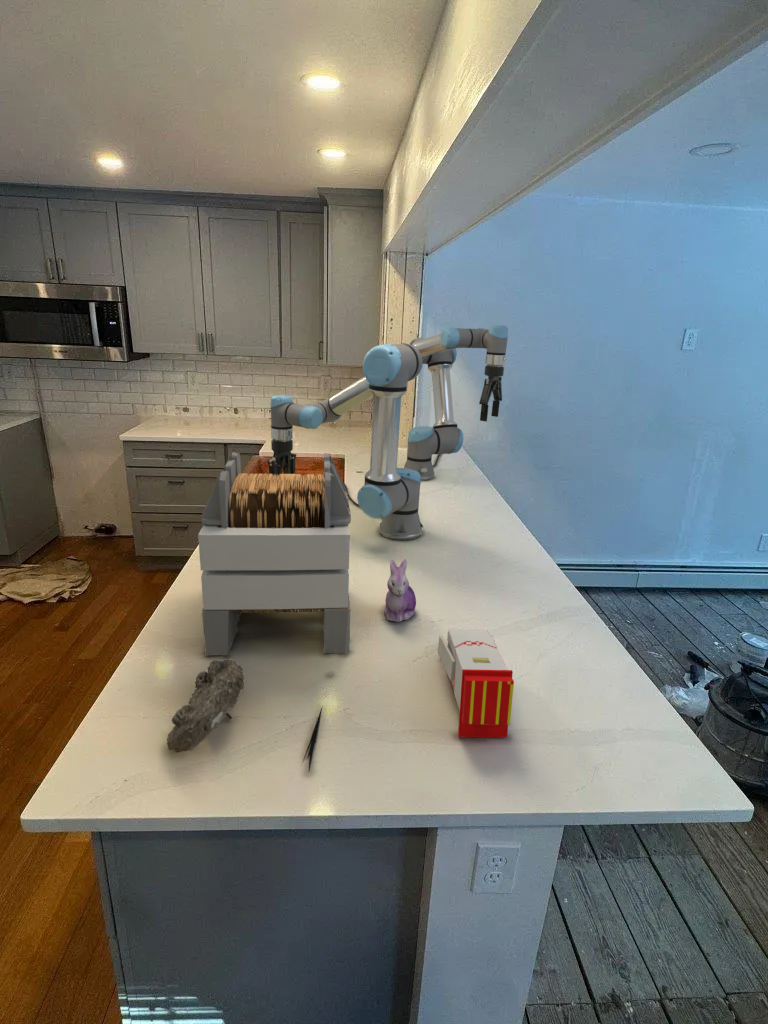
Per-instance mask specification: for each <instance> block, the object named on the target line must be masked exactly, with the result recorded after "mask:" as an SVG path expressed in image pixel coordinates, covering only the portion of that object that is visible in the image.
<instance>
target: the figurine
mask: <svg viewBox="0 0 768 1024" xmlns="http://www.w3.org/2000/svg"><path fill="white" fill-rule="evenodd" d="M407 567H408V559H406V558H404V559H403V560H402V561H401V563H400V565H399V566H398V565H397V563H396V562H395V561H394V560H393V559H391V560H390V561H389V570H390V576H389V578H388V579H387V589H388V591H387V592H386V594H385V595H386V596H385V607H384V615H385V616H386V620H387V621H391V622H395V623H400V622H402V621H406V620H409V619H410V618H411V617H413V616H414V615H415V610H416V606H417V597H416V593H415V591H414V590H413V587H411V586H410V582H409V579H408V577H407V574H406V571H407Z"/></svg>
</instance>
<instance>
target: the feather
mask: <svg viewBox="0 0 768 1024" xmlns="http://www.w3.org/2000/svg"><path fill="white" fill-rule="evenodd" d="M329 675H330V676H331V675H332V674H331V673H330V674H329ZM322 710H323V707H321V708H320V710H319V713H318V716H317V719H316V723H315V725H314V728H313V731H312V733H311V737H310V739H309V742H308V745H307V748H306V751H305V754H304V757H303V760H302V763H301V767H302V765H303V763H304V761H305V758H308V759H309V760H308V762H307V763H308V764H307V766H308V771H310V770H311V766H312V765H311V764H312V760H313V757H315V756H314V755H315V751H316V749H315V746H317V739H318V733H319V729H320V722H321V717H322V712H323V711H322ZM313 754H314V755H313ZM306 755H307V757H306Z"/></svg>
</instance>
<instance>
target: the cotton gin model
mask: <svg viewBox="0 0 768 1024" xmlns="http://www.w3.org/2000/svg"><path fill="white" fill-rule="evenodd" d="M241 463H242V462H241V453H240V452H235V451H233V452H231V455H230V457H229V459H227V460H226V463H225V466H224V468H223V470H222V471H220V474H219V475H218V477H217V479H216V482H215V483H214V486H213V489H212V491H211V494H210V495H209V498H208V499H207V502H206V505H205V507H204V509H203V511H202V514H201V517H200V520H201V524H202V527H201V529H200V530H199V532H198V535H197V538H198V550H199V552H198V553H199V563H200V565H199V567H200V571H202V573H201V575H200V580H201V581H200V582H201V594H202V605H203V607H202V609H201V610H202V611H201V617H202V629H203V638H204V639H203V640H204V649H205V650H204V651H205V652H204V655H205V656H206V657H212V656H228V654H229V652H230V650H231V647H232V645H233V643H234V640H235V638H236V635H237V632H238V623H240V620H241V617H242V614H244V613H250V614H251V613H253V614H254V613H257V614H258V613H298V612H301V613H302V612H308V613H309V612H322V614H323V654H344V655H346V654H347V653H349V652H350V639H351V604H350V595H349V594H350V593H349V586H350V585H349V584H350V572H349V571H350V570H349V569H350V549H351V548H350V547H351V545H350V542H351V533H350V532H351V531H350V526H349V525H350V524H351V520H352V516H351V515H352V514H351V509H350V502H349V498H348V495H347V490H348V489H347V490H346V488H345V486H344V484H345V483H344V481H343V480H342V478H341V474H340V473H339V471H338V469H337V466H336V465H335V462H334V460H333V458H332V455H331V454H330V453H326V452H324V453H323V473H322V474H321V473H318V474H316V475H315V474H314V473H306V474H303V475H302V474H301V473H295V474H284V473H282V474H279V476H278V475H277V476H276V475H272V474H270V475H269V473H244V472H243V473H242V466H241ZM342 481H343V482H342ZM343 483H344V484H343Z"/></svg>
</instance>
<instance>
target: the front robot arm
mask: <svg viewBox="0 0 768 1024" xmlns="http://www.w3.org/2000/svg"><path fill="white" fill-rule="evenodd" d="M422 362H423V361H422V356H421V354H420V352H419V351H418V349H417V348H415V347H414V346H412V345H410V343H406V342H403V343H382V344H380V345H379V344H378V345H376V346H374V347H372V348H371V349H370V350H368V352H366V354H365V355H364V358H363V361H362V373H363V376H362V377H360V378H359V379H357V380H356V381H354V382H352V383H351V384H349V385H347V386H345V387H343V389H341V390H339V391H337V392H336V393H334V394H332V395H331V396H330V397H327V398H326V399H324V400H323V401H317V402H313V403H312V402H311V403H307V404H299V403H294V401H293V397H292V396H291V395H287V394H276V395H275V394H274V395H272V396H271V397H270V407H269V409H270V438H271V439H272V440H271V441H270V443H271V445H270V446H271V451H272V452H273V455H272V458H271V459H267V464H268V474H269V475H270V474H272V475H276V476H277V475H278V476H279V474H296V460H297V454H296V453H293V452H292V451H293V449H294V442H293V437H294V435H293V428H294V427H299V428H303V429H307V430H309V429H311V430H317V429H318V428H319V427H320V426H321V425H323V424H326V423H327V424H328V423H333V422H335V421H338V420H340V419H341V418H342V416H343V415H345V414H347V413H348V412H350V411H352V410H353V409H355V408H357V407H359V406H361V405H363V404H365V403H366V402H367V401H369V400H371V399H373V400H372V415H371V416H372V419H371V439H370V440H371V441H370V459H369V460H370V462H369V470H368V471H367V472H365V474H364V483H363V484H364V485H362V486H361V487H360V488H359V490H358V492H357V496H356V499H357V500H356V501H357V502H356V501H355V500H354V499H353V498H352V497H351V496H350V492H349V490H348V486H347V485H346V483H345V482H344V481H343V480H342V482H343V484H344V486H345V488H346V490H347V495H348V500H349V501H350V502H351V503H352V504H354V505H355V506H356V507H358V508H359V509H360V510H361V511H362V512H363V513H364V515H366V516H367V517H368V518H372V519H381V522H379V526H378V533H379V534H380V535H381V536H382V537H385V538H387V539H389V540H395V541H410V540H415V539H418V538H420V537H421V536H422V535H423V529H424V526H423V524H422V523H421V518H420V515H419V507H420V506H419V505H420V496H421V495H420V494H421V493H420V492H421V483H422V481H420V474H419V472H417V471H415V470H411V469H405V468H404V467H398V454H399V440H400V439H399V438H400V423H401V408H402V397H403V396H404V395H405V394H406V393H407V391H408V382H410V381H412V380H414V379H416V378H417V377H418V376H419V375H420V373H421V371H422V368H423V364H422ZM293 426H294V427H293Z"/></svg>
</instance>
